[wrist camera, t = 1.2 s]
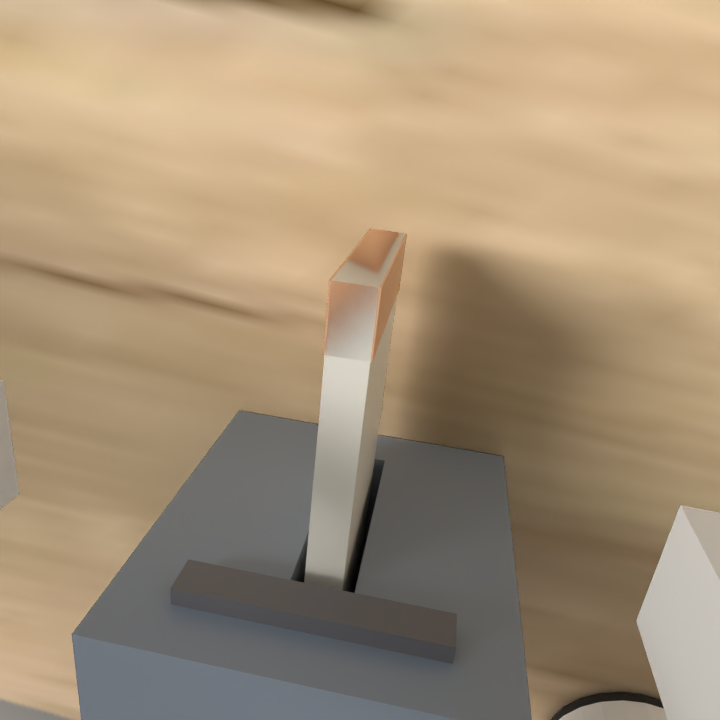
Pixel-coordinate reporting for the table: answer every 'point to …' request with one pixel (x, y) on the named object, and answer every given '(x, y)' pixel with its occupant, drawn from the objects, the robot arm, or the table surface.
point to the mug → (613, 708)
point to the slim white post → (351, 405)
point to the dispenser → (313, 595)
